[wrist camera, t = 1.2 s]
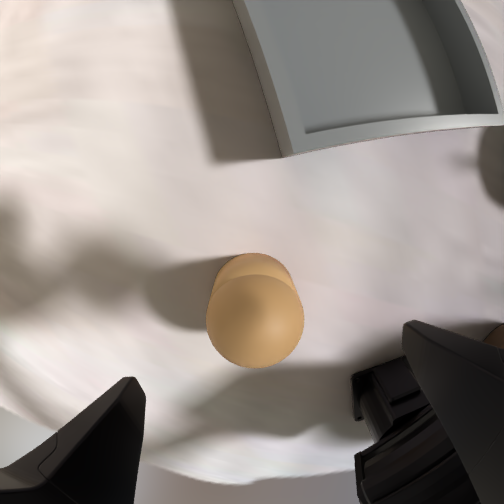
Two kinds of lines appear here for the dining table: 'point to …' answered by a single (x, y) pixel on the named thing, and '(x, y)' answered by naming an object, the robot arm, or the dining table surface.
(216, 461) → the dining table surface
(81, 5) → the dining table surface
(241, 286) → the tan oval piece
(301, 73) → the bin
